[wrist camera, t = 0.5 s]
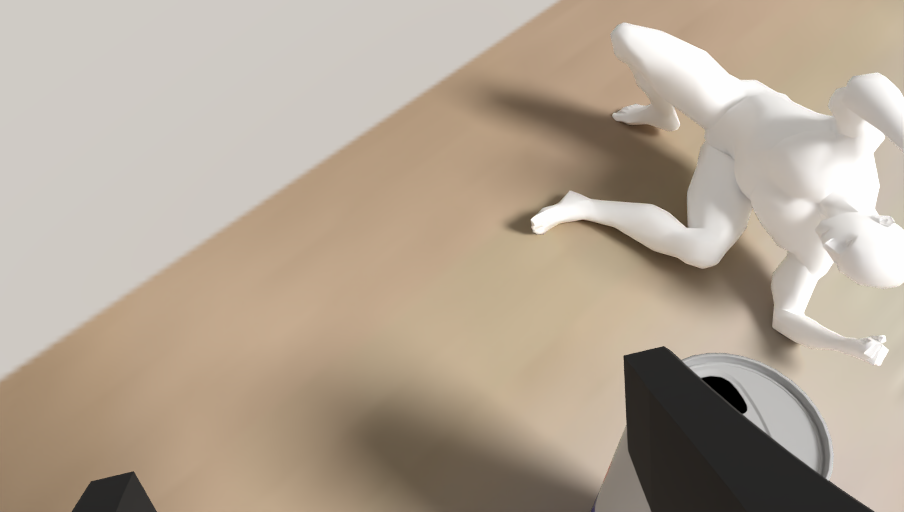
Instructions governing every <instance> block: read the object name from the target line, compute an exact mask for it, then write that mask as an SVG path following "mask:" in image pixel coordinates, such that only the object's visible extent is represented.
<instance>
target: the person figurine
mask: <svg viewBox="0 0 904 512" xmlns="http://www.w3.org/2000/svg"><path fill="white" fill-rule="evenodd" d="M611 40H612V45H613V49H614V53H615V55H616V57H617V58H618V59H619V60H620V61H622V62H624V63H626V64H627V65H628V66H629V68H630V69H631V71H632V73H633V75H634V78H635V80H636V83H637V86H638V87H639V88H640V89H641V90H642V91H644V92H645V94H646V95H647V97H648V98H649V100H650V101H651V104H649V105H647V106H642V105H639V104H634V105H630V106H628V107H627V106H626V107H624V108H622V109H621V110H619V111H618V112H617V113H613V114H612V117H613V118H614V119H615V120H616V121H619V122H624V123H626V124H627V125H640V124H649V125H651V126H654V127H657V128H660V129H663V130H666V131H674V130H677V129H678V128H679V126H680V122H679V119H678V117H677V114H676V112H675V109H674V107H675V108H676V109H678V110H679V111H681V112H682V113H683V114H685V115H686V116H687V117H689V118H690V119H691V120H693V121H694V122H696V123H697V124H698V125H700V126H701V127H702V128H704V129H705V135H704V139H705V140H706V141H705V142H704V143H703V145H702V146H701V148H700V153H699V158H698V162H697V166H696V169H695V172H694V174H693V177H692V180H691V183H690V185H689V188H688V191H687V220H688V228H686V227H685V226H684V225H683V224H682V223H681V222H679V221H678V220H677V219H676V218H675V217H674V216H673V215H671V214H670V213H669V212H667V211H665V210H663V209H661V208H659V207H657V206H655V205H653V204H645V203H632V202H619V201H606V200H596V199H590V198H588V197H585V196H583V195H581V194H579V193H576V192H573V191H569V192H568V193H567V194H566V195H565V196H564V197H563V199H562V200H561V201H560V202H559V203H557V204H555V205H552V206H549V207H545V208H542V209H541V210H540V211H539V213H538V214H536V215H535V216H534V217H533V218H532V219H531V224H532V226H531V228H532V229H533V232H535V233H536V234H544V233H546V232H547V231H548V230H549V229H551V228H553V227H554V226H556V225H558V224H560V223H565V222H571V221H577V220H582V219H584V220H588V221H592V222H596V223H600V224H604V225H608V226H612V227H615V228H617V229H618V230H620V231H622V232H623V233H625V234H626V235H628V236H630V237H631V238H633V239H635V240H636V241H638V242H640V243H641V244H643V245H645V246H646V247H648V248H649V249H651V250H653V251H655V252H659V253H662V254H666V255H669V256H673V257H677V258H679V259H680V260H682V261H683V262H684V263H686V264H689V265H692V266H695V267H699V268H702V269H704V268H708V267H711V266H714V265H716V264H718V263H719V262H720V260H721V259H722V258H723V256H724V255H725V253H726V252H727V251H728V250H729V249H730V248H731V247H732V246H733V245H734V244H735V242H736V241H737V240H738V238H739V237H740V236H741V235H742V233H743V232H744V231H745V229H746V227H747V224H748V221H749V217H750V214H751V211H752V208H753V210H754V212H755V214H756V216H757V217H758V219H759V221H760V223H761V225H762V226H763V227H764V229H765V230H766V231H767V233H768V234H769V235H770V236H771V238H772V239H773V240H774V242H775V243H776V244H777V246H779V247H781V248H783V249H785V250H787V256H786V257H785V258H784V260H783V261H782V262H781V263H780V265H779V266H778V267H777V268H776V270H775V271H774V272H773V275H772V281H771V290H772V296H773V301H774V312H773V324H772V328H774V329H775V330H777V331H778V332H779V333H781V334H783V335H784V336H786V337H788V338H789V339H791V340H792V341H794V342H796V343H798V344H800V345H803V346H806V347H808V348H811V349H822V350H836V351H839V352H841V353H844V354H847V355H850V356H852V357H855V358H858V359H861V360H863V361H865V362H867V363H869V364H872V365H874V364H875V365H878V366H880V365H881V363H882V361H883V359H884V358H885V356H886V354H887V352H888V351H889V350H888V349H887V348H886V347H885V346H884V345H882V344H881V343H884V342H886V337H885V336H883V335H879V336H869V337H864V338H860V339H856V338H854V337H852V338H847V337H844V336H842V335H839V334H837V333H835V332H833V331H831V330H829V329H827V328H825V327H823V326H821V325H820V324H819V323H817V322H816V321H815V320H813V319H811V318H809V317H807V316H805V315H804V311H805V308H806V306H807V304H808V301H809V299H810V297H811V294H812V292H813V290H814V287H815V285H816V283H817V281H818V279H819V278H821V277H822V276H824V275H825V274H826V273H827V272H828V270H829V269H830V267H831V265H832V264H833V262H834V263H836V264H837V266H838V270H839V271H840V272H841V273H843V274H844V275H845V276H847V277H848V278H850V279H851V280H852V281H854V282H855V283H857V284H858V285H864V286H870V287H875V288H881V289H885V288H891V287H898V286H899V285H901V284H902V283H903V282H904V230H903V229H902V228H901V227H900V226H899V225H897V224H895V221H894V219H893V218H892V217H891V216H882V215H878V213H877V212H876V210H875V204H876V200H877V196H878V192H879V187H880V185H879V180H878V175H877V170H876V165H875V160H874V155H873V153H874V152H875V150H876V149H877V148H878V147H879V145H880V144H881V143H882V141H883V140H884V139H885V137H884V135H885V136H886V137H887V138H888V139H889V140H890V141H891V142H893V143H894V144H895V145H896V146H897V147H898V148H899V149H900V150H901V151H902V152H903V153H904V97H903V95H902V94H901V92H900V90H899V89H898V88H897V87H896V86H895V85H894V84H893V83H892V82H891V81H890V80H888V79H887V78H886V77H885V76H883V75H881V74H879V73H871V74H865V75H859V76H853V77H852V78H851V79H850V80H849V81H848V83H847V86H846V87H843V88H838V89H836V90H835V92H834V93H833V94H832V96H831V97H830V100H829V104H828V107H829V109H830V111H831V112H832V114H833V116H828V115H824V114H819V113H816V112H814V111H812V110H810V109H808V108H805V107H803V106H801V105H799V104H796V103H794V102H793V101H792V100H791V99H789V98H788V97H787V96H786V95H785V94H782V93H778V92H775V91H774V90H772V89H770V88H769V87H767V86H766V85H764V84H762V83H761V82H759V81H757V80H739V79H737V78H735V77H733V76H732V75H730V74H728V73H727V72H726V71H725V70H724V69H723V68H722V67H721V66H720V65H719V64H718V63H717V62H716V61H715V60H714V59H713V58H712V57H711V56H710V55H709V54H708V53H707V52H706V51H704V50H702V49H699V48H697V47H695V46H693V45H691V44H689V43H687V42H684V41H682V40H680V39H678V38H676V37H674V36H672V35H669V34H667V33H665V32H663V31H660V30H656V29H651V28H647V27H642V26H637V25H633V24H629V23H625V22H624V23H622V24H619V25H617V26H616V27H615V29H614V30H613V31H612V33H611Z"/></svg>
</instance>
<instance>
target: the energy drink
mask: <svg viewBox="0 0 904 512" xmlns="http://www.w3.org/2000/svg"><path fill="white" fill-rule="evenodd" d="M681 361H682V362H684V363H685V364H686V365H687V366H688V367H689V368H690V369H691V370H692V371H693V372H695V373H696V374H697V375H698V376H699V377H700V378H701V379H702V380H703V381H705V382H706V383H707V384H708V385H709V386H710V387H711V388H712V389H714V390H715V391H716V392H717V393H718V394H719V395H721V396H722V397H723V398H724V399H725V400H726V401H728V402H729V403H730V404H731V405H732V406H733V407H735V408H736V409H737V410H738V411H739V412H741V413H742V414H743V415H744V416H745V417H747V418H748V419H749V420H750V421H751V422H753V423H754V424H755V425H756V426H758V427H759V428H760V429H761V430H763V431H764V432H765V433H766V434H768V435H769V436H770V437H772V438H773V439H774V440H775V441H777V442H778V443H779V444H780V445H782V446H783V447H784V448H785V449H787V450H788V451H789V452H791V453H792V454H793V455H795V456H796V457H797V458H799V459H800V460H801V461H803V462H804V463H805V464H807V465H808V466H809V467H811V468H812V469H813V470H815V471H816V472H818V473H819V474H820V475H822V476H823V477H825V478H826V479H827V480H829V479H830V477H831V474H832V468H833V458H834V455H833V447H832V440H831V437H830V434H829V431H828V428H827V425H826V423H825V421H824V419H823V417H822V416H821V414H820V412H819V410H818V408H817V407H816V406H815V404H814V403H813V402H812V401H811V399H810V398H809V397H808V396H807V394H806V393H805V392H804V391H803V390H801V389H800V388H799V387H798V386H797V385H796V384H795V383H794V382H793V381H792V380H790V379H789V378H787V377H786V376H784V375H783V374H781V373H780V372H779V371H777V370H775V369H773V368H771V367H769V366H767V365H765V364H763V363H761V362H759V361H756V360H753V359H750V358H747V357H744V356H739V355H733V354H727V353H706V354H700V355H694V356H691V357H688V358H685V359H683V360H681ZM591 512H651V510H650V507H649V505H648V502H647V500H646V497H645V494H644V492H643V489H642V487H641V484H640V482H639V479H638V476H637V474H636V471H635V468H634V466H633V463H632V460H631V457H630V455H629V452H628V443H627V425H626V427H625V430H624V432H623V434H622V437H621V439H620V442H619V444H618V447H617V449H616V452H615V454H614V457H613V459H612V461H611V464H610V466H609V469H608V471H607V474H606V476H605V479H604V481H603V484H602V486H601V488H600V491H599V493H598V496H597V498H596V501H595V503H594V506H593V508H592V511H591Z"/></svg>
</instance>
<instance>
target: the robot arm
mask: <svg viewBox="0 0 904 512" xmlns="http://www.w3.org/2000/svg"><path fill="white" fill-rule="evenodd" d="M624 376H625V398H626V420H627V443H628V452H629V455H630V457H631V460H632V463H633V466H634V468H635V471H636V474H637V476H638V479H639V482H640V484H641V487H642V489H643V492H644V494H645V497H646V500H647V502H648V505H649V507H650V510H651V512H874V511H873V510H871V509H870V508H868V507H867V506H865V505H864V504H862V503H861V502H859V501H858V500H856V499H855V498H853V497H852V496H850V495H849V494H847V493H846V492H844V491H843V490H841V489H840V488H839V487H837V486H836V485H834V484H833V483H832V482H830V481H829V480H827V479H826V478H825V477H823V476H822V475H820V474H819V473H818V472H816V471H815V470H813V469H812V468H811V467H809V466H808V465H807V464H805V463H804V462H803V461H801V460H800V459H799V458H797V457H796V456H795V455H793V454H792V453H791V452H789V451H788V450H787V449H785V448H784V447H783V446H782V445H780V444H779V443H778V442H777V441H775V440H774V439H773V438H772V437H770V436H769V435H768V434H766V433H765V432H764V431H763V430H761V429H760V428H759V427H758V426H756V425H755V424H754V423H753V422H751V421H750V420H749V419H748V418H747V417H745V416H744V415H743V414H742V413H741V412H739V411H738V410H737V409H736V408H735V407H733V406H732V405H731V404H730V403H729V402H728V401H726V400H725V399H724V398H723V397H722V396H721V395H719V394H718V393H717V392H716V391H715V390H714V389H712V388H711V387H710V386H709V385H708V384H707V383H706V382H705V381H703V380H702V379H701V378H700V377H699V376H698V375H697V374H696V373H695V372H693V371H692V370H691V369H690V368H689V367H688V366H687V365H686V364H685V363H684V362H682V361H681V360H680V359H679V358H678V357H677V356H676V355H675V354H674V353H673V352H672V351H670V350H669V349H667V348H666V347H664V346H663V347H658V348H654V349H650V350H646V351H642V352H637V353H633V354H629V355H625V356H624ZM72 512H157V511H156V510H155V508H154V506H153V504H152V503H151V501H150V499H149V497H148V496H147V494H146V492H145V490H144V489H143V487H142V485H141V483H140V482H139V480H138V478H137V476H136V474H135V473H134V471H133V472H129V473H125V474H121V475H116V476H112V477H108V478H104V479H99V480H95V481H91V482H90V484H89V485H88V487H87V488H86V490H85V492H84V493H83V495H82V496H81V498H80V499H79V501H78V503H77V504H76V506H75V507H74V509H73V511H72Z"/></svg>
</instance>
